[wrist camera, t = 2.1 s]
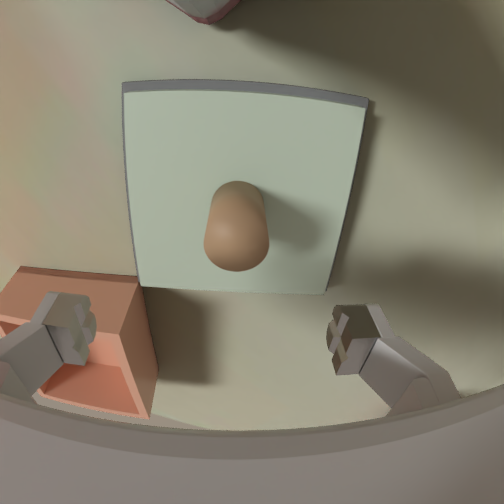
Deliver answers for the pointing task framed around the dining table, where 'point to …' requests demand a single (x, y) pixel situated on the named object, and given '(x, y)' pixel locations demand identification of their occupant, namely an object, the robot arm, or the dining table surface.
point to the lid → (238, 187)
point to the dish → (105, 342)
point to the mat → (240, 87)
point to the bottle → (205, 9)
